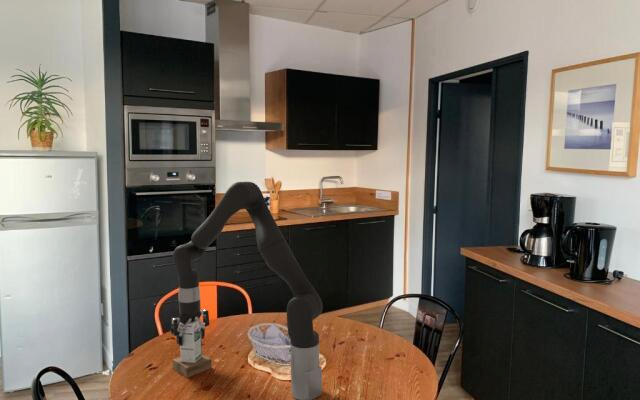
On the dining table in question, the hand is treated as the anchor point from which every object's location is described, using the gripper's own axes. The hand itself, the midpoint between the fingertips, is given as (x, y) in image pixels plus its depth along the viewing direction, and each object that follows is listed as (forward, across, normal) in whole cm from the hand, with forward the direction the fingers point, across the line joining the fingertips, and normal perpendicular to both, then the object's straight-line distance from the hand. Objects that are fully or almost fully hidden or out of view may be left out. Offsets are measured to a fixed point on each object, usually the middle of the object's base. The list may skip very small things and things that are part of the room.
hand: (191, 341), depth 172 cm
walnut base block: (+11, 0, 0) cm, 11 cm away
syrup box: (+7, 0, 0) cm, 7 cm away
